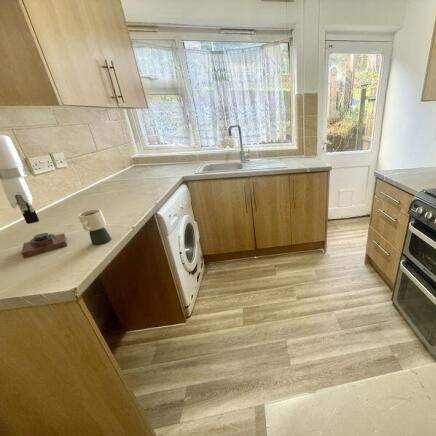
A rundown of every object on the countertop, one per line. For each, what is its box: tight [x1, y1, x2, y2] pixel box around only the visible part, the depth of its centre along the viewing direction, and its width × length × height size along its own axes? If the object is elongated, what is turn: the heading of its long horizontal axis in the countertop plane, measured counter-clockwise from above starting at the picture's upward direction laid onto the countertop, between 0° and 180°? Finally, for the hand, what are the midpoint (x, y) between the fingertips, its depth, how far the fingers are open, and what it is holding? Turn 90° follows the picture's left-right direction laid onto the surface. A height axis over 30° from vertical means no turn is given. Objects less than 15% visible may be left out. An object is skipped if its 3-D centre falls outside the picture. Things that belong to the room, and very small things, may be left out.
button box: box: [21, 232, 68, 259], centre depth 94 cm, size 12×10×4 cm
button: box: [33, 232, 50, 241], centre depth 93 cm, size 4×4×2 cm
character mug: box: [77, 208, 112, 246], centre depth 94 cm, size 11×7×13 cm, turn 11°
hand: (33, 222), depth 90 cm, fingers closed
